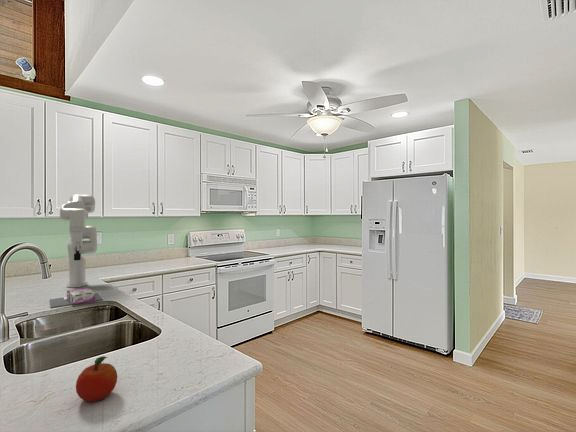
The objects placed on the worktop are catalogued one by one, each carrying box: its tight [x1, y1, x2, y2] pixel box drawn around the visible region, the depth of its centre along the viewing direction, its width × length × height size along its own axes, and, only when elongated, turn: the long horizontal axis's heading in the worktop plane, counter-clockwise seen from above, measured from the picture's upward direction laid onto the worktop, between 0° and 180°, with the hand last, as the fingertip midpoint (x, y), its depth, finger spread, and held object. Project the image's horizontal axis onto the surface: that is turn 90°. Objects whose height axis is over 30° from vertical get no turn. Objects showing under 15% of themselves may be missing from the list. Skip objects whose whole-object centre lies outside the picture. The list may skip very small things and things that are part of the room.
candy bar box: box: [66, 287, 96, 305], centre depth 177 cm, size 11×5×16 cm
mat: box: [49, 292, 103, 309], centre depth 178 cm, size 20×24×1 cm
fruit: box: [75, 356, 118, 403], centre depth 82 cm, size 10×10×10 cm
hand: (77, 260), depth 184 cm, fingers closed
